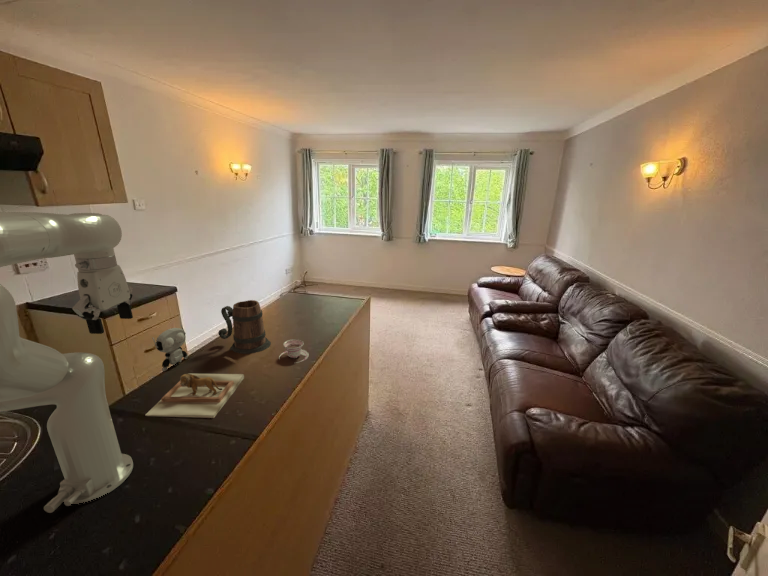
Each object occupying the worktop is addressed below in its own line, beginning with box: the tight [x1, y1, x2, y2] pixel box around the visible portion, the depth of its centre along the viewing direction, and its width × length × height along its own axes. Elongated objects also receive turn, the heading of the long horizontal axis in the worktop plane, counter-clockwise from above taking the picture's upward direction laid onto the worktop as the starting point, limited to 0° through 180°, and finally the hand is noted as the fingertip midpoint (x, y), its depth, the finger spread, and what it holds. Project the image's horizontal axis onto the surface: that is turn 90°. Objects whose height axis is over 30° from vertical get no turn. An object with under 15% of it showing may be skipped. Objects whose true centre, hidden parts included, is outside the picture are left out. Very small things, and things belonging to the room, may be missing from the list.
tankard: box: [218, 299, 272, 355], centre depth 135 cm, size 24×17×20 cm
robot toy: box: [152, 324, 189, 372], centre depth 119 cm, size 12×4×15 cm, turn 166°
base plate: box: [145, 373, 245, 419], centre depth 103 cm, size 22×20×3 cm
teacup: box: [278, 339, 309, 364], centre depth 129 cm, size 12×12×6 cm
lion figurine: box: [179, 373, 222, 395], centre depth 102 cm, size 12×4×7 cm, turn 103°
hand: (112, 325), depth 84 cm, fingers open, 9 cm apart
